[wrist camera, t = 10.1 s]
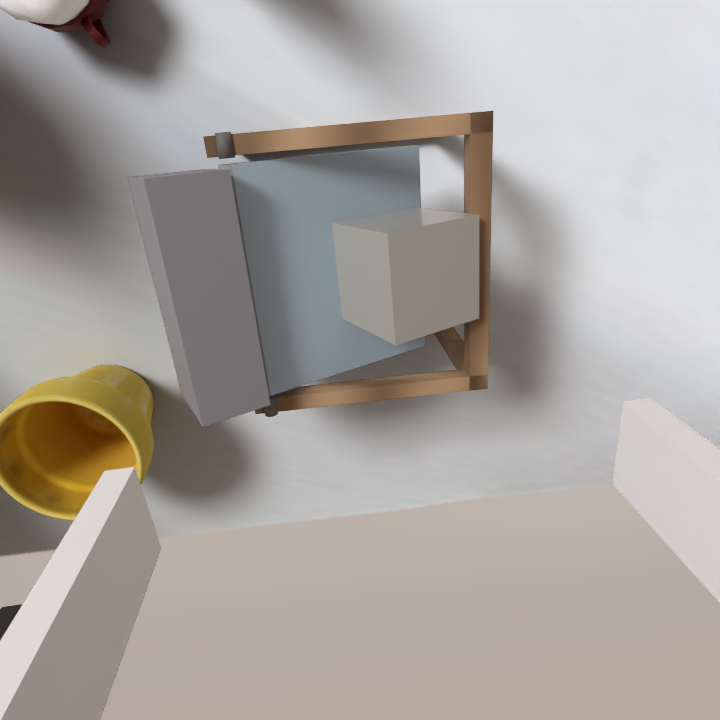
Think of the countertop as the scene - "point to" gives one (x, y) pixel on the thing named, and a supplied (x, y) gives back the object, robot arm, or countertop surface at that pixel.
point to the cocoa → (62, 15)
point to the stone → (408, 271)
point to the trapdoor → (264, 270)
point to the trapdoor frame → (477, 200)
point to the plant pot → (74, 437)
